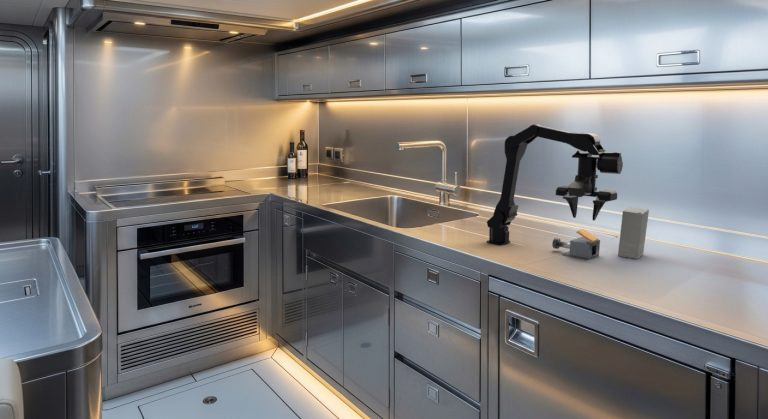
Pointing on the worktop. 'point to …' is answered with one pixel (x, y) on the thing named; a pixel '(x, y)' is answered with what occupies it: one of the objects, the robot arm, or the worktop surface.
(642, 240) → the skincare box
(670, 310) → the worktop surface
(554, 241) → the pin
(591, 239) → the plate
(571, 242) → the bracket
